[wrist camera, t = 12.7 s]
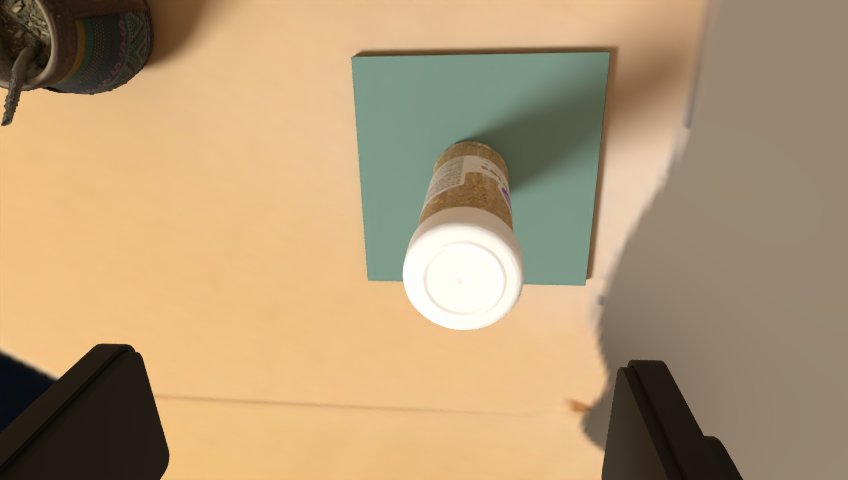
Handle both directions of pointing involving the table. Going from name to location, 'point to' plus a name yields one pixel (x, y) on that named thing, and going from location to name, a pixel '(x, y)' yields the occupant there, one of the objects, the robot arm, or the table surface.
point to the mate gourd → (71, 46)
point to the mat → (492, 125)
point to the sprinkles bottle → (465, 242)
